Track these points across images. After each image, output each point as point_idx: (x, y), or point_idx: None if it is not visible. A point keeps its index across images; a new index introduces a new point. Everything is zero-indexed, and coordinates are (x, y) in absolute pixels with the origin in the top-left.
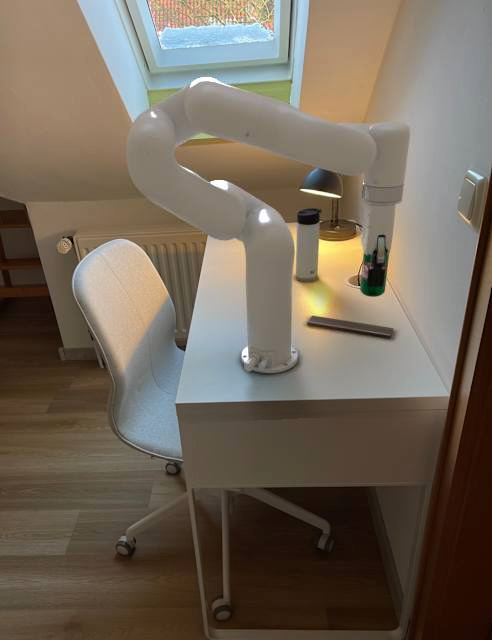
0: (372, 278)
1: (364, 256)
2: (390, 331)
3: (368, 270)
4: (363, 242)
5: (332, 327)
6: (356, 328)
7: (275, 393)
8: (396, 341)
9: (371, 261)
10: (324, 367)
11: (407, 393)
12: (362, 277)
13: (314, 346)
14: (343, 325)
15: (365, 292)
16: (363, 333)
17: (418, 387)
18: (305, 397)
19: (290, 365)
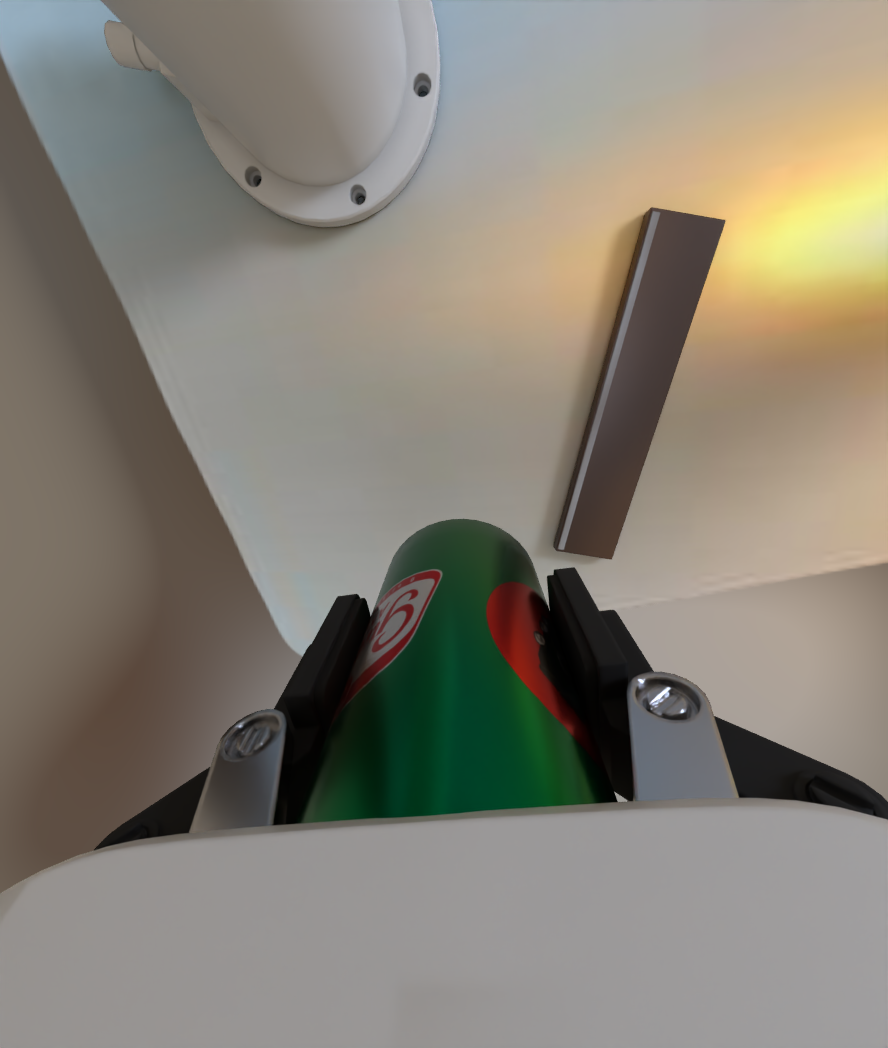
0: (295, 670)
1: (378, 727)
2: (586, 550)
3: (292, 681)
4: (235, 1043)
5: (612, 338)
6: (602, 437)
7: (98, 183)
8: (539, 564)
9: (199, 803)
10: (323, 346)
11: (266, 589)
12: (413, 574)
13: (461, 282)
14: (625, 383)
15: (395, 556)
16: (577, 462)
17: (303, 613)
18: (127, 307)
19: (261, 202)
